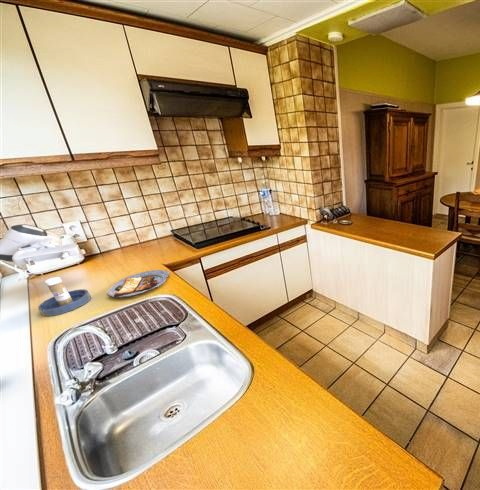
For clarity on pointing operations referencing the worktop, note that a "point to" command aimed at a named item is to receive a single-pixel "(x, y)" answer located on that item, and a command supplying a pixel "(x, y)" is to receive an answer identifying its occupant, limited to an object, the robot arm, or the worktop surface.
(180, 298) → the worktop surface
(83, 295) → the bowl
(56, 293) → the sprinkles bottle
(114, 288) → the food plate
